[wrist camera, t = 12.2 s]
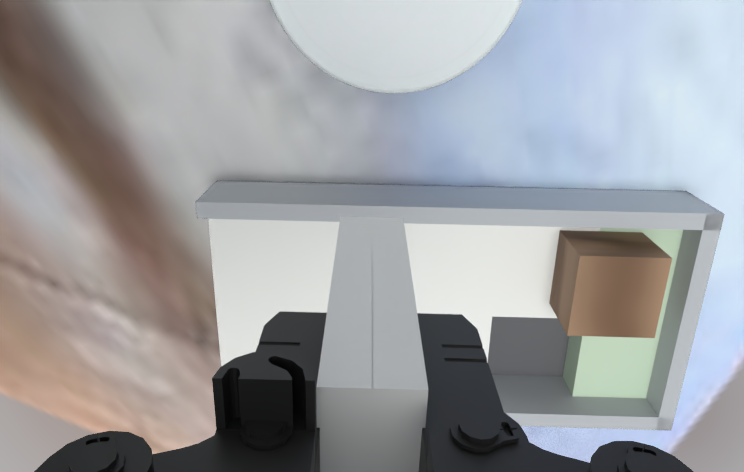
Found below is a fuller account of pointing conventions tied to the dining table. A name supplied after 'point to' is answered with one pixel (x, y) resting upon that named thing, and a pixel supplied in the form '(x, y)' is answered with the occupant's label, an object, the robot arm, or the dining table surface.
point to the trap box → (477, 281)
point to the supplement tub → (395, 38)
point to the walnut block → (609, 283)
